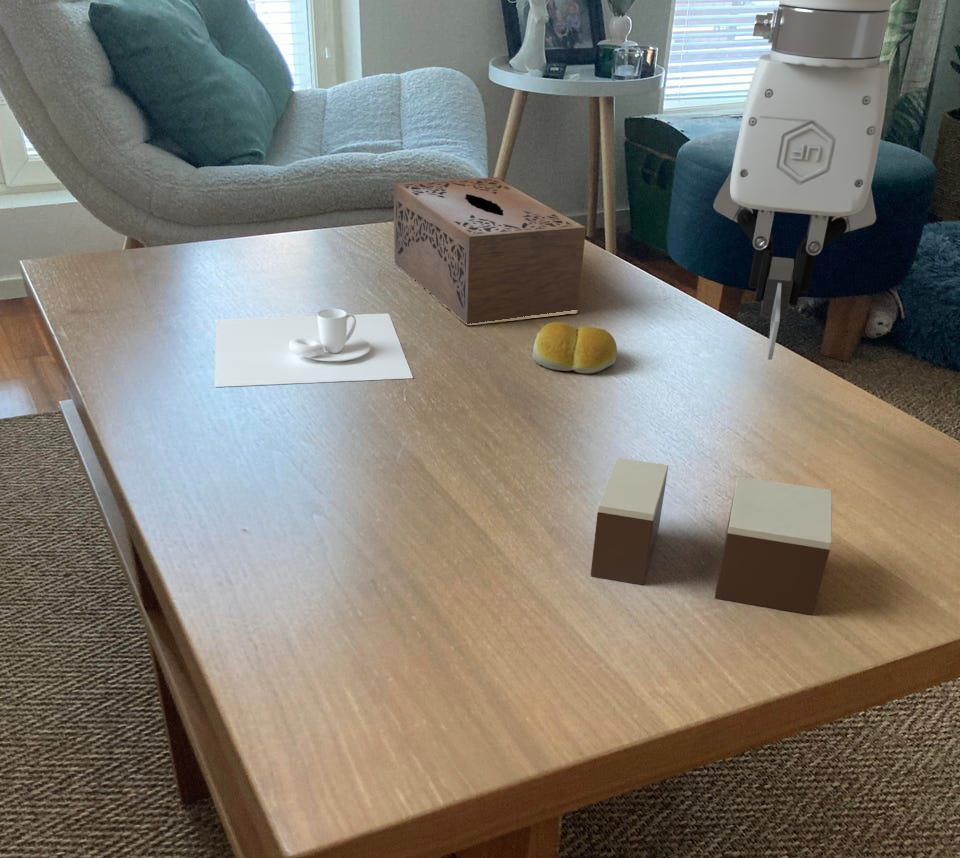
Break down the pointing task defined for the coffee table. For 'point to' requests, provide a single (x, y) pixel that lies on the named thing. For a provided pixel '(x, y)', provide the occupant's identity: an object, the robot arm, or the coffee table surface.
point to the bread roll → (574, 348)
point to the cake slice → (628, 521)
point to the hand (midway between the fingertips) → (776, 297)
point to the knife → (777, 296)
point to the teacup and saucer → (307, 349)
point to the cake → (776, 545)
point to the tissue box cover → (487, 248)
